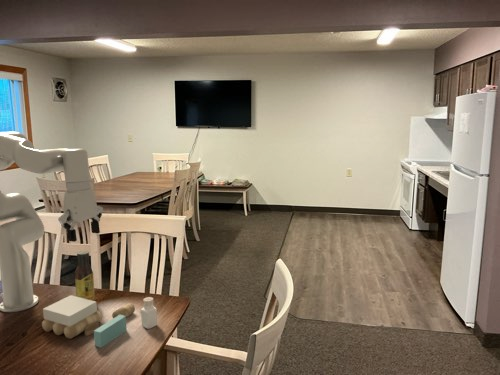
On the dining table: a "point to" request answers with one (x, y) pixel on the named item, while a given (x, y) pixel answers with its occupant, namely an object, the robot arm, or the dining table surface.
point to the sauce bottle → (84, 277)
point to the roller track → (74, 326)
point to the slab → (70, 310)
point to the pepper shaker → (148, 313)
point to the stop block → (110, 330)
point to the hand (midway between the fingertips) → (84, 236)
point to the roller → (124, 310)
